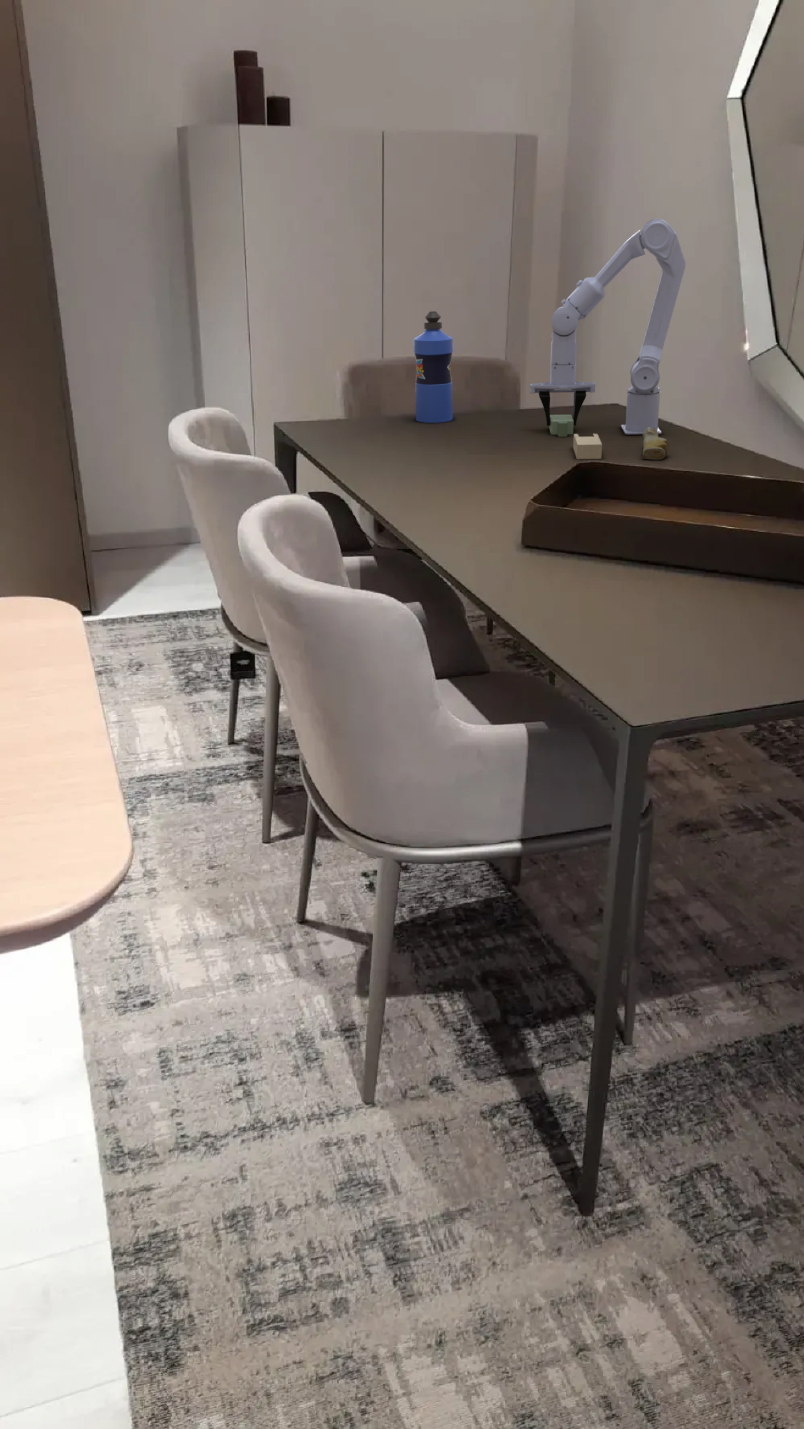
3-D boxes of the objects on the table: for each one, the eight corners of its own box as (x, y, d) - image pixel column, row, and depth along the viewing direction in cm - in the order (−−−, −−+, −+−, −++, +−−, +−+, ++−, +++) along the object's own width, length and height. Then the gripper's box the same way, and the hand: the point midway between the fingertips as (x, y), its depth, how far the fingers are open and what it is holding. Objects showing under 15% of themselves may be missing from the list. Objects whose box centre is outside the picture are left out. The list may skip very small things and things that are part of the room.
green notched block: (549, 428, 257) (549, 414, 256) (570, 427, 257) (571, 414, 256) (551, 436, 248) (551, 423, 247) (573, 436, 247) (574, 423, 246)
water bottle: (420, 424, 266) (418, 314, 255) (411, 417, 274) (409, 311, 264) (457, 421, 268) (457, 312, 257) (447, 414, 276) (446, 309, 266)
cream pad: (573, 448, 236) (573, 434, 235) (596, 447, 236) (597, 433, 235) (576, 459, 226) (577, 444, 225) (601, 459, 226) (602, 444, 225)
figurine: (675, 449, 222) (670, 424, 234) (651, 438, 221) (647, 413, 234) (662, 471, 225) (658, 445, 237) (638, 460, 224) (635, 435, 236)
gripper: (531, 366, 244) (530, 428, 250) (597, 365, 243) (594, 427, 249) (530, 362, 250) (529, 422, 256) (594, 361, 249) (591, 422, 255)
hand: (561, 425), depth 253 cm, fingers open, 5 cm apart
